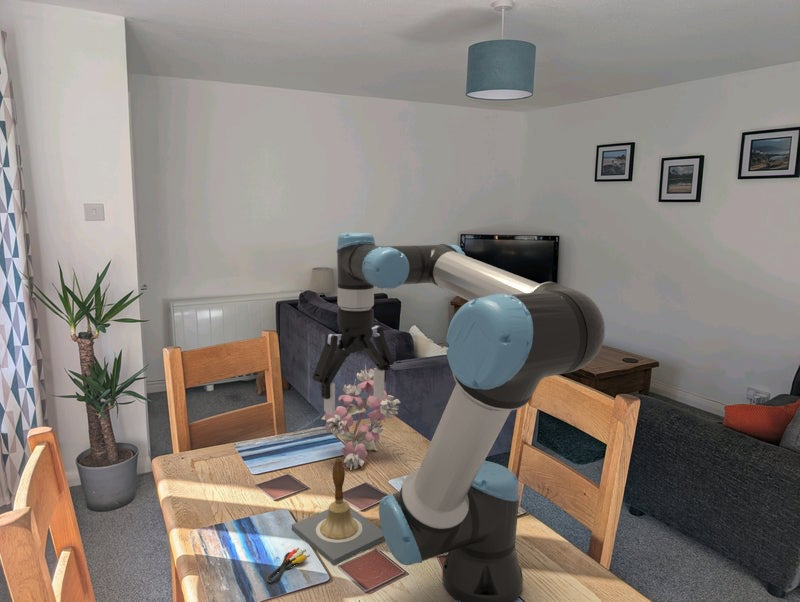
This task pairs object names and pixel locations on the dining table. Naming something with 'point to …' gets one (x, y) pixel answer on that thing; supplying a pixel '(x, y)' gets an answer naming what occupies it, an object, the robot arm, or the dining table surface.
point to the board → (343, 547)
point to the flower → (360, 418)
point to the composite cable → (288, 563)
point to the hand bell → (338, 510)
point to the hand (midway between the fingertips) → (355, 405)
